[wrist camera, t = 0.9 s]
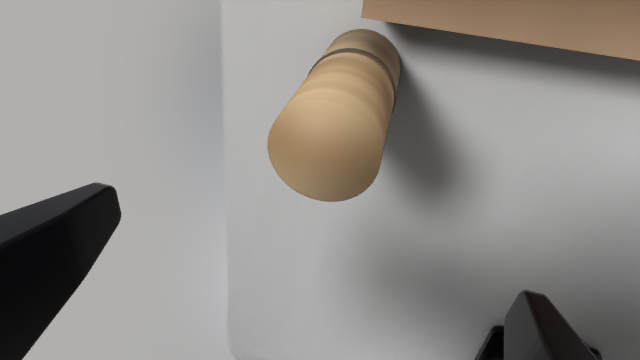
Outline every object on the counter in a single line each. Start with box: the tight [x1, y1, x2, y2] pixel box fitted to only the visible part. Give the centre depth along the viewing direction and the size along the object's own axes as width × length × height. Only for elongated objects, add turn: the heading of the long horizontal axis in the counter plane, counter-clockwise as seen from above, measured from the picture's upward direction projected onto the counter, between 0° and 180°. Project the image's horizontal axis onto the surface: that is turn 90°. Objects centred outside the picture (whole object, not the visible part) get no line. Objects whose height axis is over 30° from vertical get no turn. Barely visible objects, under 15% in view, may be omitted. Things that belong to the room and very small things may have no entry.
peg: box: [268, 29, 401, 202], centre depth 16 cm, size 4×4×8 cm
